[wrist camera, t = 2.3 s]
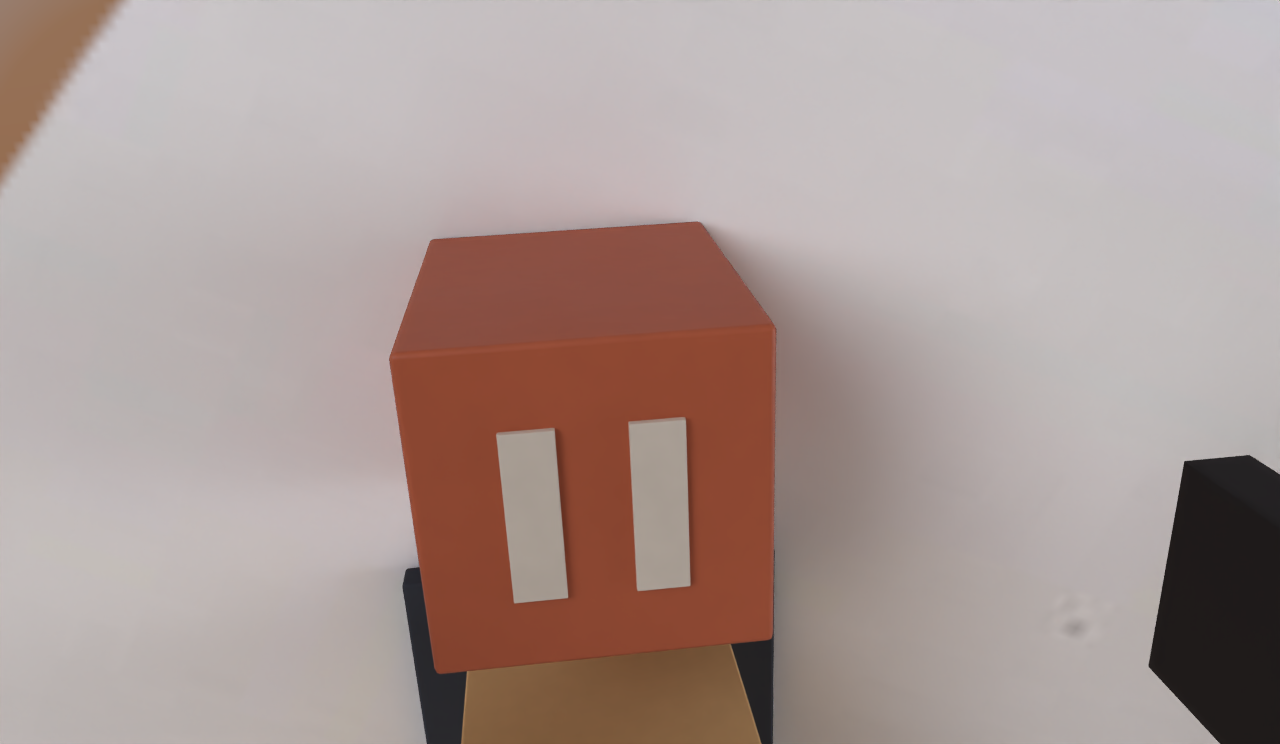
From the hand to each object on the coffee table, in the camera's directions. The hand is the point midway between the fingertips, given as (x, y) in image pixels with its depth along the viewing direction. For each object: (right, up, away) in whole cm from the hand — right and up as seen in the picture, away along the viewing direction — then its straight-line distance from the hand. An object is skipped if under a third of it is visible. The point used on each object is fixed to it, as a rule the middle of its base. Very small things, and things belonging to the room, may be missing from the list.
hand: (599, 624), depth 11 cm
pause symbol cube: (-1, +3, +7) cm, 8 cm away
